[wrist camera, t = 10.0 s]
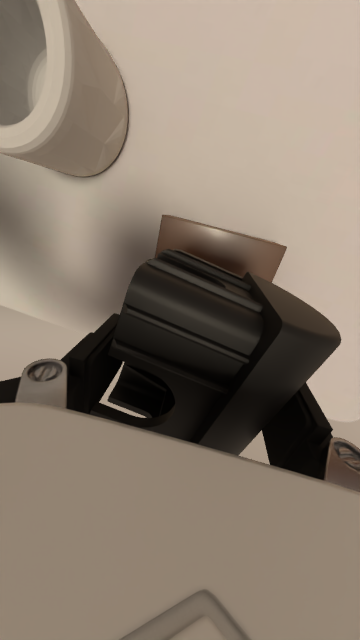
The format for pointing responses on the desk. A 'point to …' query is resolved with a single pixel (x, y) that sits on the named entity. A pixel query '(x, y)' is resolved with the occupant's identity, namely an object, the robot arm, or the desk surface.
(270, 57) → the desk surface
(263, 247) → the riser
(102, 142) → the mug
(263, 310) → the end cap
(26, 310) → the desk surface
